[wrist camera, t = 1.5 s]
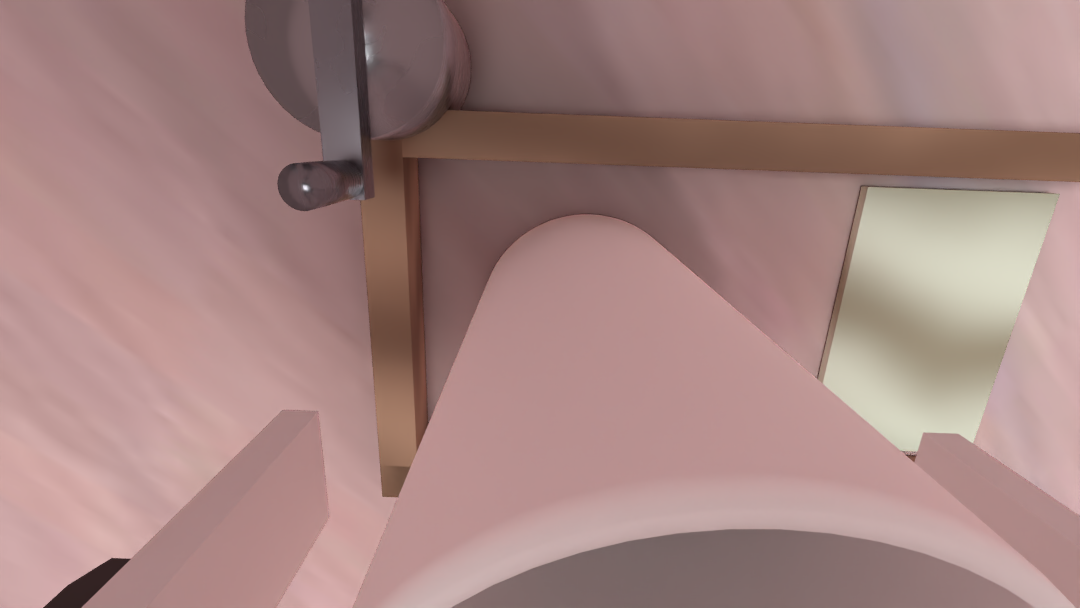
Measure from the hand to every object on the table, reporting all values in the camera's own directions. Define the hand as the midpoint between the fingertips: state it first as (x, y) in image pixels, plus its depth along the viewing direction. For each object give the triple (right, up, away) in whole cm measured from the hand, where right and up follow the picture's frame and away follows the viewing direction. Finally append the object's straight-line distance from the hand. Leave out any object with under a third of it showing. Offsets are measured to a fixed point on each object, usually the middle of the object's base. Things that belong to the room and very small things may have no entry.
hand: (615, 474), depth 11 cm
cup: (0, +3, +9) cm, 10 cm away
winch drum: (-7, +12, +6) cm, 15 cm away
